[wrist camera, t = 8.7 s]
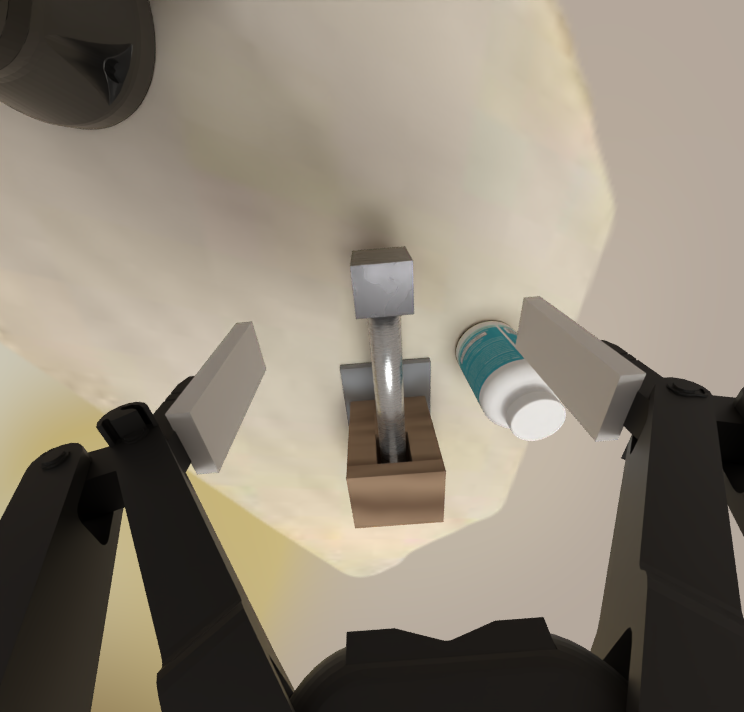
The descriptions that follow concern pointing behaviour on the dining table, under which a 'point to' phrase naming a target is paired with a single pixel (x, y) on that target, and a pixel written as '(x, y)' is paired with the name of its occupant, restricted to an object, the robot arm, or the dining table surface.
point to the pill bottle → (508, 382)
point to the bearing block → (393, 480)
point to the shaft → (385, 335)
